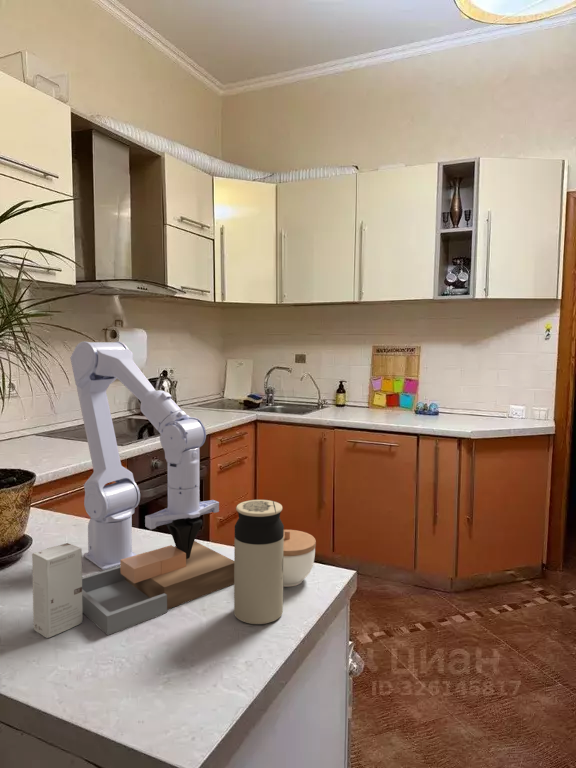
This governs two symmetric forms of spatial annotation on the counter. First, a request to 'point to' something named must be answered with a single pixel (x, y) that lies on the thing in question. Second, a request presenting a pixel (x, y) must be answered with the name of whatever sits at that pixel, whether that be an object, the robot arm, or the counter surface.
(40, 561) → the skincare box
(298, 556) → the lidded jar
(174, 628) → the counter surface
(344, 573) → the counter surface
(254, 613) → the travel mug
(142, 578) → the tile front
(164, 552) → the tile rear
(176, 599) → the dark wood platform
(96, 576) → the tray
